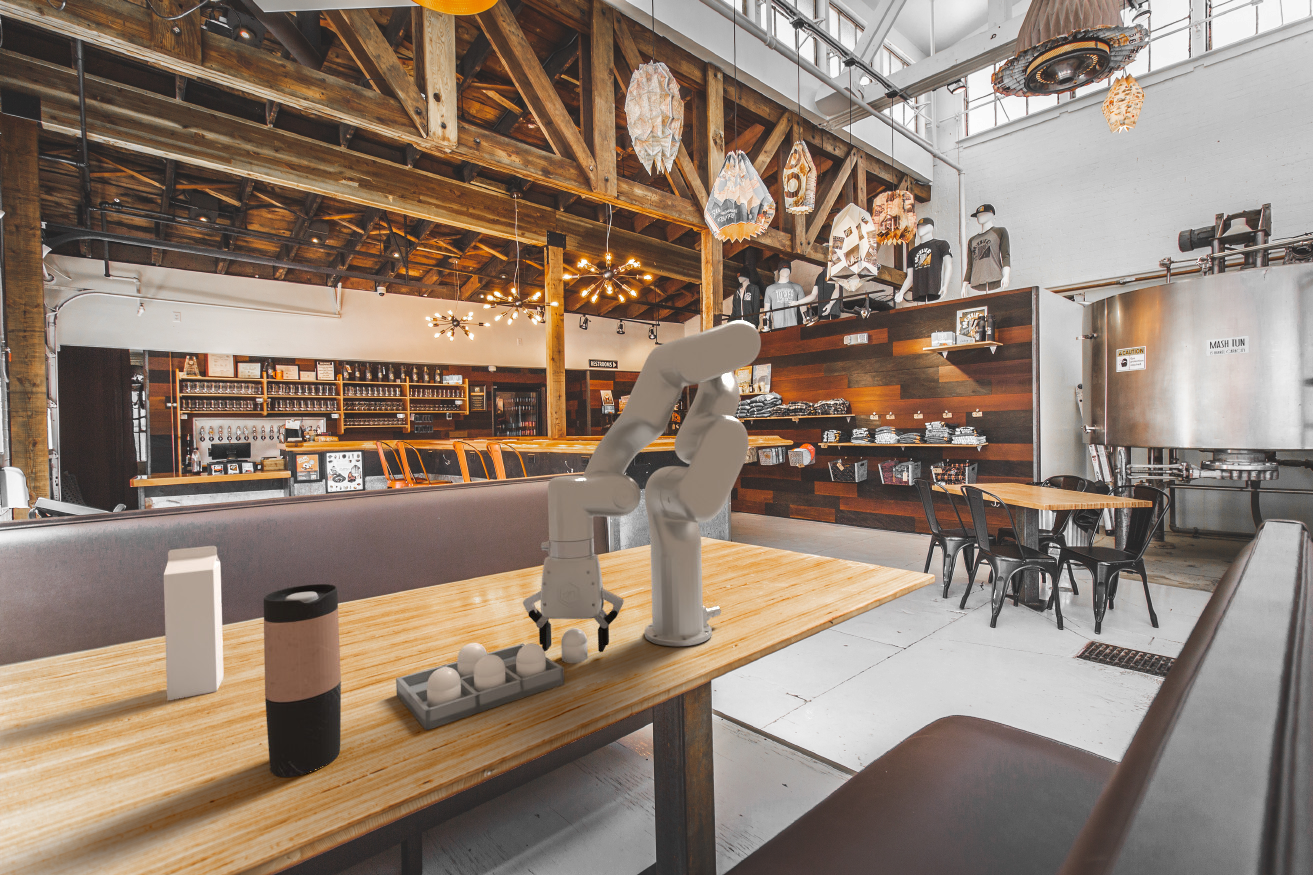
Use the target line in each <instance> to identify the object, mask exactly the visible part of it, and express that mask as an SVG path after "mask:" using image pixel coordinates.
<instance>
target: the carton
mask: <svg viewBox="0 0 1313 875" xmlns="http://www.w3.org/2000/svg"><path fill="white" fill-rule="evenodd" d="M545 652H546V651H544V650H543V649H542V645H540V644H537V643H533V642H532V643H527V644H524V643H520V644H516V645H512V646H509V647H506V648H501V649H497V650H494V651H490V652H487V650H486V648H485V647H484V646H483V645H482V644H481V643H478V642H470V643H467V644H466V645H464V646H463V647H462V648H461V649H460V651H459V652H458V655H457V658H456V659H457V660H456V661H454V662H449V663H446V664H443V665H440V666H435V667H432V668H428V669H425V670H420V671H417V672H413V673H411V674H407V675H403V676H399V677H396V678H395V681H396V682H395V683H396V688H395V689H396V696H397V697H398V698H399V700H400V701H401V702H402V703H403V705H404V706H405V707H406V708H407V710H408V711H409V712H410V713H411V714H412V716H414V718H415V719H416V720H417V721H418V722H419V724H420V725H421V726H422V727H423V728H424V730H425V731H429V730H431V729H435V728H439V727H440V726H444V725H447V724H450V723H453V722H456V721H459V720H461V719H465V718H467V717H470V716H472V715H474V716H475V715H477V714H479V713H483V712H485V711H488V710H492V709H494V708H497V707H499V706H500V707H501V706H503V705H506V704H510V703H512V702H515V701H518V700H520V699H523V698H526V697H529V696H533V695H535V694H538V693H541V692H543V691H547V690H550V689H553V688H557V687H558V686H563V685H564V684H565V674H564V671H565V670H564V669H565V668H564V667H563V666H562V665H560V664H559V663H556V662H555V661H553V660H551V658H549V657H546V653H545Z"/></svg>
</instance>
